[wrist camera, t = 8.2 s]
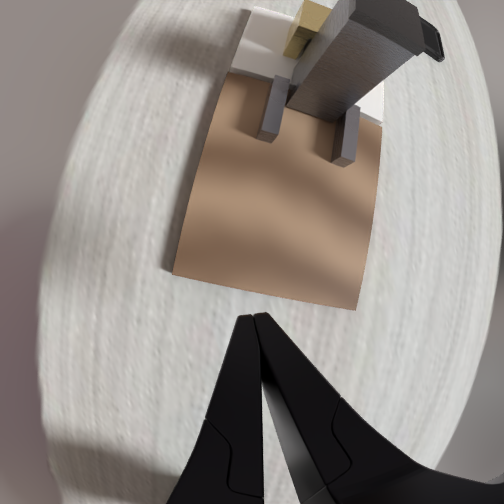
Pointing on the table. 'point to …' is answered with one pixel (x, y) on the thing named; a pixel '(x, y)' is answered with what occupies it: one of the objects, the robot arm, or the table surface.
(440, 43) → the phone
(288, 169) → the door leaf
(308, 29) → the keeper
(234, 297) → the table surface
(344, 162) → the guide rails
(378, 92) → the jamb plate
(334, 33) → the dark square pillar
